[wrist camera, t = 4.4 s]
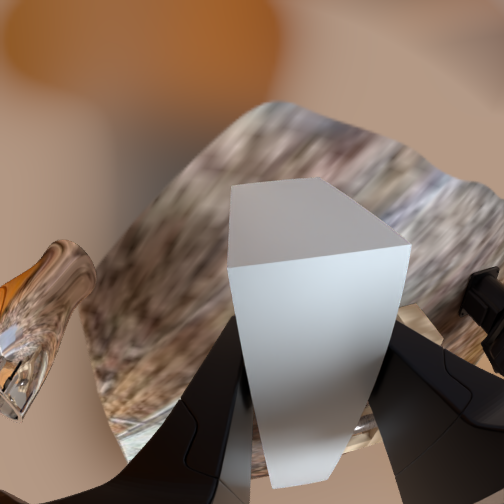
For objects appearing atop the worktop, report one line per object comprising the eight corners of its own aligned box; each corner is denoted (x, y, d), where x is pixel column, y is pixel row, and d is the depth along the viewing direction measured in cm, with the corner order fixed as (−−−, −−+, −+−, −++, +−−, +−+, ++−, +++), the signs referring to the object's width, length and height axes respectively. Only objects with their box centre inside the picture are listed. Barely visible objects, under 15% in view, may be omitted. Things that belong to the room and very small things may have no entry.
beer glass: (41, 279, 21) (-38, 383, 8) (48, 222, 19) (-66, 324, 5) (94, 310, 23) (32, 436, 10) (108, 255, 21) (13, 397, 7)
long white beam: (319, 177, 9) (411, 244, 4) (310, 406, 15) (327, 479, 10) (231, 185, 9) (227, 268, 4) (264, 413, 15) (272, 488, 10)
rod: (399, 401, 25) (405, 413, 23) (395, 409, 26) (400, 421, 24) (278, 430, 25) (280, 445, 23) (278, 437, 26) (280, 451, 24)
